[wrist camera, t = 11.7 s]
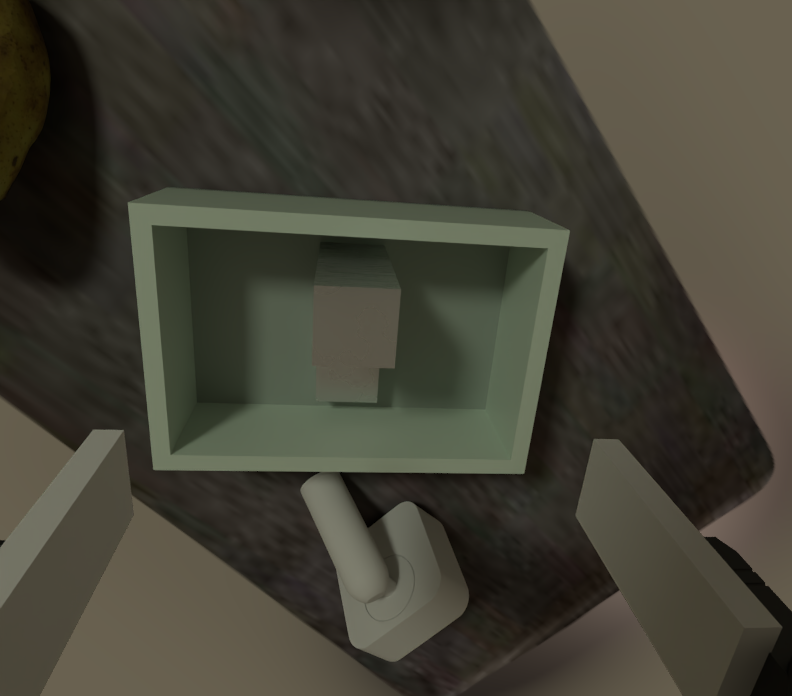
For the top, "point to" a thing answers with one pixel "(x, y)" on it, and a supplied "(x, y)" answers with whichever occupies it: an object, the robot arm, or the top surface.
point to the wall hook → (387, 570)
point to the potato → (20, 87)
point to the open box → (293, 333)
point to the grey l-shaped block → (353, 320)
